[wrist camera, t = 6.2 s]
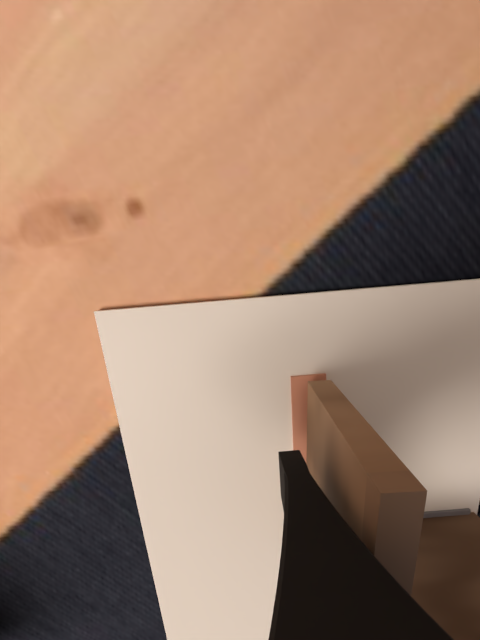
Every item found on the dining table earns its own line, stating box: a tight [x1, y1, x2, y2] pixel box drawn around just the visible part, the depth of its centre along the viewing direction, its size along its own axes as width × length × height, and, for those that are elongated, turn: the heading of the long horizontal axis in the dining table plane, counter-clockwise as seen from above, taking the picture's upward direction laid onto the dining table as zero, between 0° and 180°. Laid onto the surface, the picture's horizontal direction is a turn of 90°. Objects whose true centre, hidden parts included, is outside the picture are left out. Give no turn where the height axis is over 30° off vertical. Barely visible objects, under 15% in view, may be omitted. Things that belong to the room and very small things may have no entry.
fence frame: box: [411, 512, 480, 640], centre depth 9 cm, size 10×2×6 cm, turn 95°
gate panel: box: [306, 380, 427, 596], centre depth 8 cm, size 8×1×5 cm, turn 3°
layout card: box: [94, 278, 480, 640], centre depth 12 cm, size 18×24×1 cm
